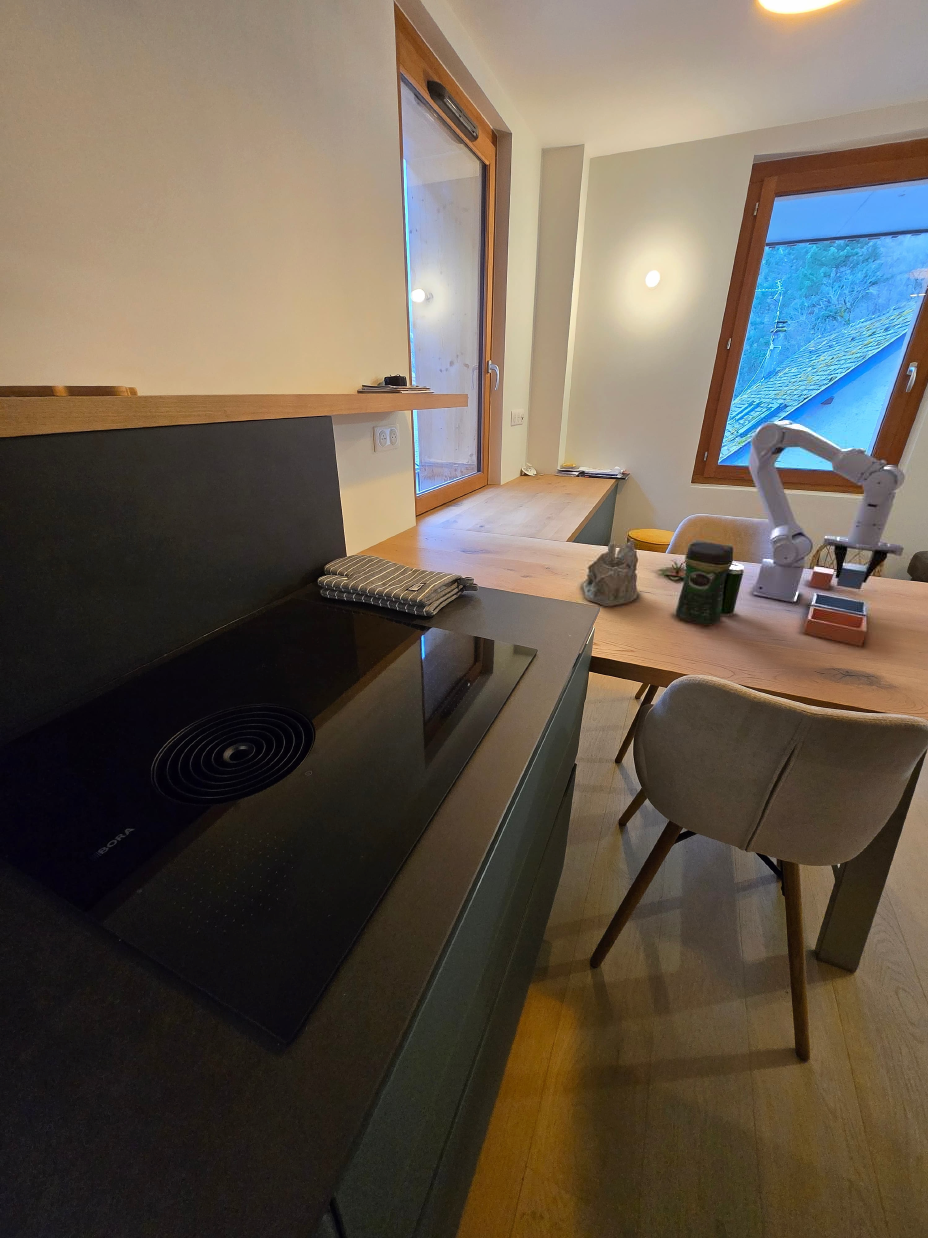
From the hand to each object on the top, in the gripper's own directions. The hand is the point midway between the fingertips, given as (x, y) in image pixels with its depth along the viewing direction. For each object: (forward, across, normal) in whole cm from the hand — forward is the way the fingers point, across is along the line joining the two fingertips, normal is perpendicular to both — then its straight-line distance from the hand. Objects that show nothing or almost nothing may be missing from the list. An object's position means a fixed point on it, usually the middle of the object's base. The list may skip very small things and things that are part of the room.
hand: (850, 579), depth 116 cm
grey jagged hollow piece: (+9, -51, -20) cm, 56 cm away
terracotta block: (+8, -5, +17) cm, 20 cm away
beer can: (+9, -23, -16) cm, 30 cm away
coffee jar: (+9, -28, -23) cm, 37 cm away
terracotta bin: (+8, -1, -14) cm, 16 cm away
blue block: (+1, 0, 0) cm, 1 cm away
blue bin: (+8, -1, -4) cm, 9 cm away
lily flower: (+9, -39, +4) cm, 40 cm away
